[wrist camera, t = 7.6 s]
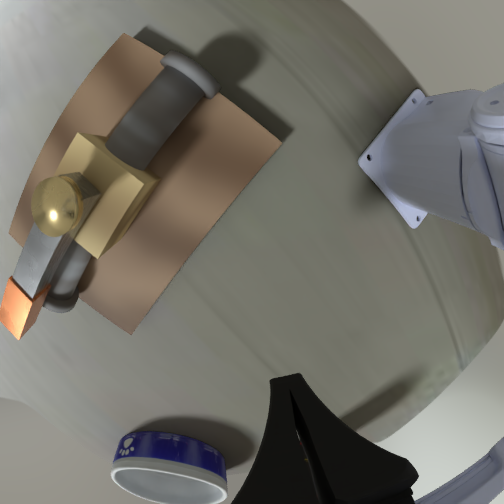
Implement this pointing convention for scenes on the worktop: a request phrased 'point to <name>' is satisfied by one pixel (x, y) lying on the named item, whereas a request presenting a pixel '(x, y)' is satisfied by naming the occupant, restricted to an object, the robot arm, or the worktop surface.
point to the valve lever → (45, 246)
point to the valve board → (178, 199)
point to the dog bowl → (170, 469)
